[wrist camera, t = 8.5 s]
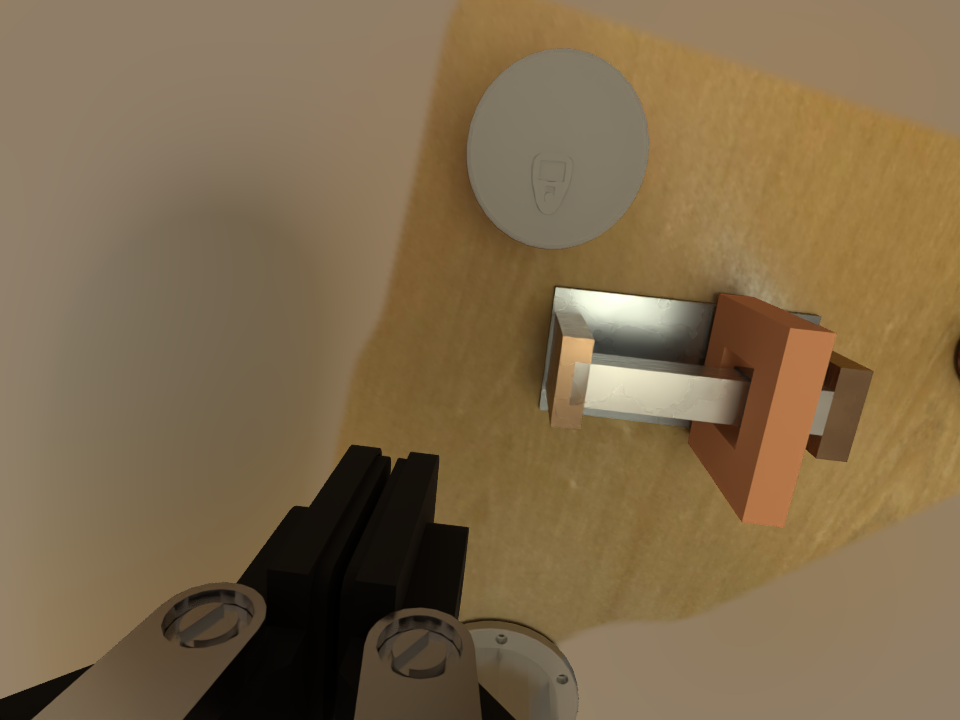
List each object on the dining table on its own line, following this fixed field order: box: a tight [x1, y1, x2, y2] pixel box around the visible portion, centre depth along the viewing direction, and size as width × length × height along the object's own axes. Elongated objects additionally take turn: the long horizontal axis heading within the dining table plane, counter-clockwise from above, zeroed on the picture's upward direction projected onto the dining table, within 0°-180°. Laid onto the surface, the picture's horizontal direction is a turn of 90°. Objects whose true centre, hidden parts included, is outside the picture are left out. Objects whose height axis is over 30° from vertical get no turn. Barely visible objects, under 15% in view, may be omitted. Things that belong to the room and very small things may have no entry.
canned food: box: [467, 48, 649, 249], centre depth 30 cm, size 8×8×11 cm
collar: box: [688, 293, 837, 527], centre depth 32 cm, size 2×10×10 cm, turn 174°
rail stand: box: [539, 286, 874, 462], centre depth 34 cm, size 16×8×7 cm, turn 84°
